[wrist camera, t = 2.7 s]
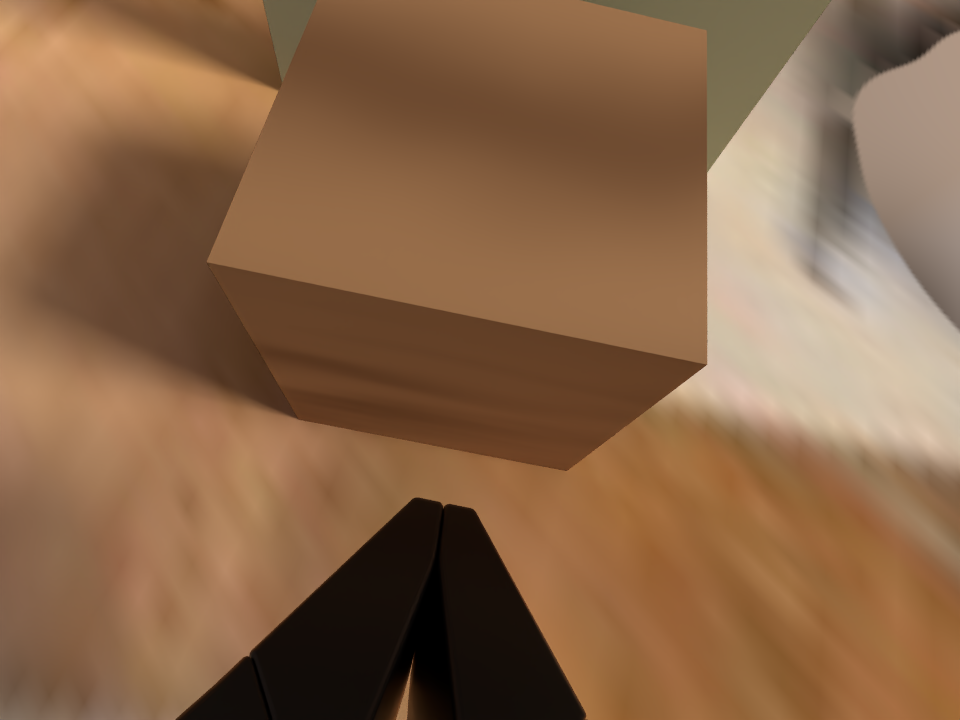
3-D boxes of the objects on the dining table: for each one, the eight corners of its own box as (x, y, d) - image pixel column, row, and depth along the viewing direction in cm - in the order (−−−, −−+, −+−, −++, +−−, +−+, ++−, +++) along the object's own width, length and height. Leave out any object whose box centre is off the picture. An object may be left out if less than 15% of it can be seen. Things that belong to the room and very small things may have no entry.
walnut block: (566, 471, 17) (707, 364, 9) (298, 420, 16) (207, 262, 9) (588, 250, 20) (706, 30, 12) (365, 202, 20) (341, -57, 12)
